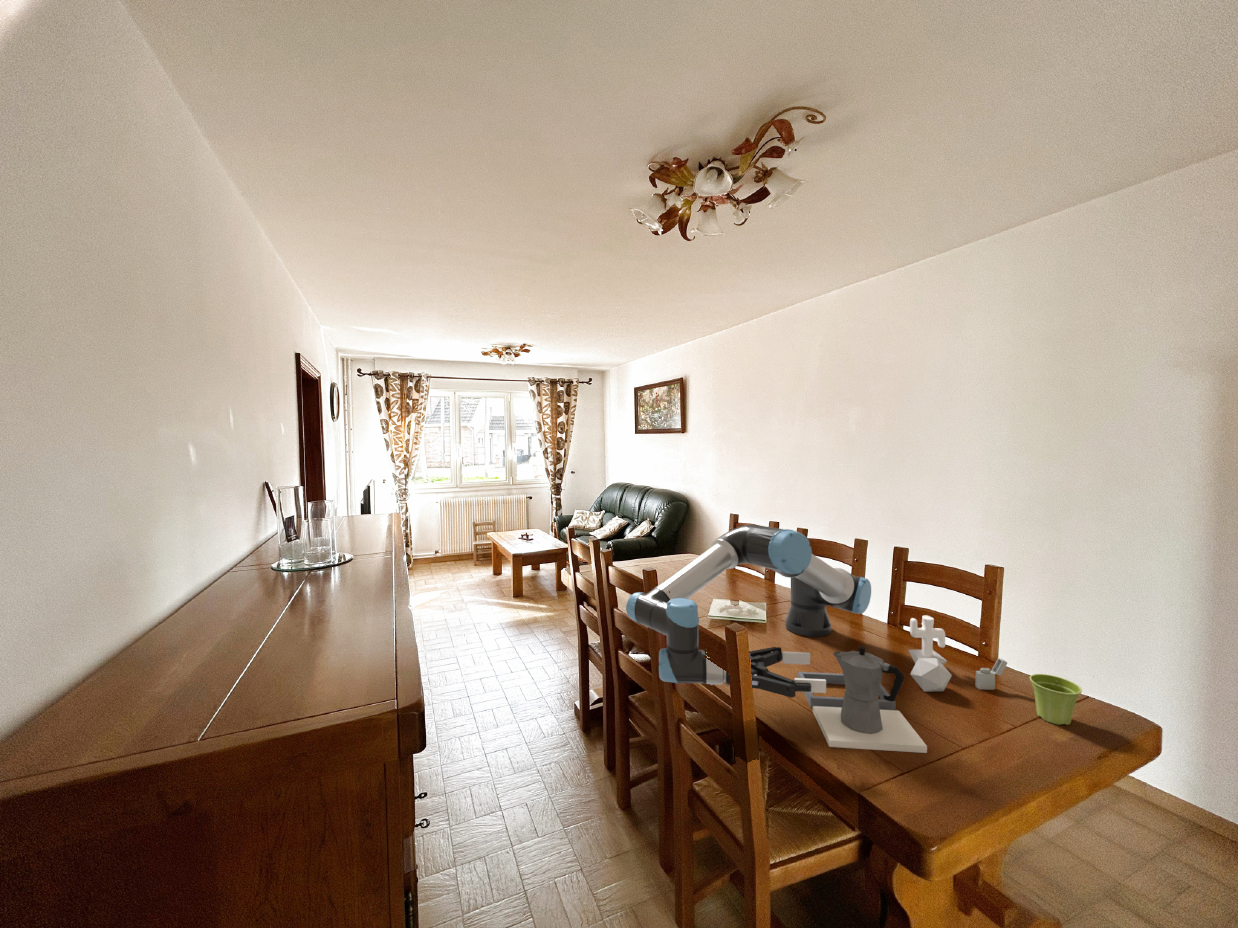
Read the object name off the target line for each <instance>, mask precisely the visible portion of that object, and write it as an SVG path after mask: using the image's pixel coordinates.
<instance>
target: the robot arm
mask: <svg viewBox="0 0 1238 928" xmlns="http://www.w3.org/2000/svg"><path fill="white" fill-rule="evenodd" d="M810 544H811V543H810V541H809V539H808V537H806V536H805V535H804V533H801V532H799V531H796V530H793V529H787V528H786V529H785V528H780V527H771V526H765V525H759V524H746V525H741V526H738V527H735V528H733V529H731V530H728V531H727V532H725V533H724V534H722V535H721V536H719V537H718V538H716V539H715V540H714V541H712V543H711V546H710V547H709V548H708V549H707V550H705V551H704V552H702V553H701V554H699V555H698V556H696V558H694V559H693V560H691V561H690V562H688V564H686V565H684V566H682V568H680V569H679V570H678V571H676V572H675V573H673V574H672V575H671V576H669V577H668V578H667V579H665V580H664V581H662V582H661V583H660V584H658V585H657V586H655V587H654V588H652V589H651V590H650V591H648V592H647V593H645V592H640V591H638V592H634V593H633V594H631V595H630V596H629V598H628V599H627V601H626V605H625V612H626V614H627V617H628V618H629V619H630V620H632V621H633V622H635V623H637V624H638V625H642V626H644V627H647V628H649V629H650V630H653V631H655V632H658V633H660V634H661V635H664V636H666V648H661V649H660V650H659V652H658V664H659V665H658V676H659V679H660V680H661V681H662V682H665V683H666V682H667V683H668V682H669V683H674V684H703V685H706V684H707V685H710V686H714V685H723V684H724V683H725V685H726V686H731V685H730V675H729V674H728V672H727V671H725V670H723V669H722V668H720V667H718V666H717V665H716V664H714V663H713V662H711V661H710V660H708V659H707V658H710V657H708V656H707V655H706V654H705V651H704V650H705V649H699V632H700V631H699V629H700V628H699V627H700V625H699V623H700V617H699V608H698V604H697V602H695V600H693V599H691V597H693V596H694V595H695V594H697V593H698V592H699V591H700V590H701V589H703V588H704V587H705V586H707V585H708V584H710V582H712V581H713V580H714V579H716V578H717V577H719V576H720V575H721V574H722V573H724V572H725V571H726V570H727V569H728V570H729V569H731V570H732V569H735V568H736V567H737V566H739V565H743V564H747V565H748V564H750V565H753V566H758V567H761V568H766V569H769V570H772V571H773V572H774V573H775V572H776V573H777V574H779V575H781V576H782V577H785V578H790V606H789V609H788V612H787V615H786V617H785V621H784V622H785V624H784V625H785V628H786V629H787V631H789V632H791V633H794V634H796V635H800V636H803V637H811V638H812V637H818V638H820V637H826V636H828V635H831V633H832V624H831V619H830V616H829V614H828V611H827V606H829V607H831V608H835V609H838V610H843V611H845V612H849V613H852V614H858V615H861V614H864V613H865V612H866V611H867V610H868V608H869V605H870V602H871V597H872V583H871V582H870V580H869V579H868V578H865V577H863V576H859V575H858V576H857V575H854V574H852V573H850V572H849V571H847V570H846V569H843V568H841V567H832V566H831V565H830V564H828V563H827V562H825V561H824V560H822V559H821V558H819V557H818V556H816V555H814V554H813V550H812V546H811V545H810ZM669 591H670V593H669ZM695 651H696V652H695ZM748 651H749V650H748ZM706 653H707V652H706ZM749 653H750V659H751V674H752V675H751V676H752V688H751V689H758V690H762V691H766V692H770V693H773V694H776V695H781V696H784V697H788V698H792V699H793V698H795V697H796V693H804V692H812V693H813V694H814V693H816V694H817V693H821V694H827V684H826V680H825V679H806V678H798V677H794V679H791V678H789V677H786V676H784V675H780V674H778V673H776V672H772V671H770V670H769V669H768V667H770V666H773V665H775V664H777V663H780V662H781V663H782V664H784V665H785V664H787V665H809V666H810V665H811V653H810V652H806V651H805V652H804V651H803V652H802V651H801V652H799V651H782V647H781V646H772V647H771V646H770V647H767V648H762V649H761V648H760V649H756V650H750V651H749ZM705 655H706V656H707V658H704V656H705Z"/></svg>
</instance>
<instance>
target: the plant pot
mask: <svg viewBox="0 0 1238 928" xmlns="http://www.w3.org/2000/svg"><path fill="white" fill-rule="evenodd" d="M1029 680H1030V682H1031V685H1032V688H1033V692H1034V694H1033V695H1034V700H1035V708H1036V715H1037V716H1038V717H1041V718H1042V720H1043V721H1046V722H1048V723H1051V724H1053V725H1060V726H1061V725H1066V726H1069V725H1070V724H1071V723H1072V719H1073V715H1074V710H1075V707H1076V701H1077V699H1078V698H1079V696H1080V695H1081V694H1082V691H1083V690H1082V688H1081V687H1080V685H1078V684H1077V683H1075V682H1073V681H1071V680H1069V679H1067V678H1064V677H1060V676H1056V675H1052V674H1046V673H1035V674H1031V675H1030V676H1029Z"/></svg>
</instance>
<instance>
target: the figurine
mask: <svg viewBox="0 0 1238 928" xmlns="http://www.w3.org/2000/svg"><path fill="white" fill-rule="evenodd" d="M921 618H922V619H921V625H922V626H921V627H918V620H917V619H916V618H914V617H911V618H910V621H909V633H910V636H911V637H913V638H914V639H916V638H917V639H921V649H908V653H909V654H910V657H911V658H912V660H913V662H914V665H915V664H916V662H917V660H918V659H922V658H937V659H938V660H939V661H940V662H941V664H942V665H943V666H944V665H945V664H946V663H947V662H948V660H947V659H945V658H944V657H943V656H942V655H940V654H939V653H938V652H936V651H935V650H934V646H933V645H934V639H937V646H938V647H939V648H941V649H942V648H944V649H945V647H946V632H945V630H944V629H943V628H938V627H937V628H936V627H935V628H934V624H935V622H934V621H935V619H934V617H932V616H930V615H928V614H927V615H926V614H925V615H922V617H921Z"/></svg>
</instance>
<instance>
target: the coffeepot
mask: <svg viewBox="0 0 1238 928" xmlns="http://www.w3.org/2000/svg"><path fill="white" fill-rule="evenodd" d="M866 650H867V647H865V646H862V645H859V646H858V651H857V650H850V651H841V650H840V651H835V652H833V653H832V655H833V656H834V657H835V658H836V661H838V664H839V666H840V668H841V669H842V670H841V671H842V674H843V675H844V683H845V684H844V687H845V691H844V695H843V698H844V700H843V705H842V710H841V722H842V723H843V724H844V725H845V726H847V727H848V728H850V729H852V730H854V731H857V732H861V733H868V734H872V733H877V732H879V731H881V730H883V728H882V721H881V715H880V708H879V702H878V699H879V698H878V697H879V695H878V693H879V690H880V684H881V685H882V678H883V673H884V674H885V673H886V674H891V675H894V676H895V677H894V680H893V684H892V687H891V689H890V692H889V695H890V696H885V695H884V699H885V700H887V701H891V702H894V701H895V702H896V699H897V697H898V695H899V692H900V690H901V688H902V686H903V683H904V681H905V676H904V674H903V672H902V671H901V670H900V668H899V667H897V666H896V665H892V664H890V663H887V662H884V659H882V658H880V657H878V656H877V655H874V654H872V653H870V652H867V651H866Z"/></svg>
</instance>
